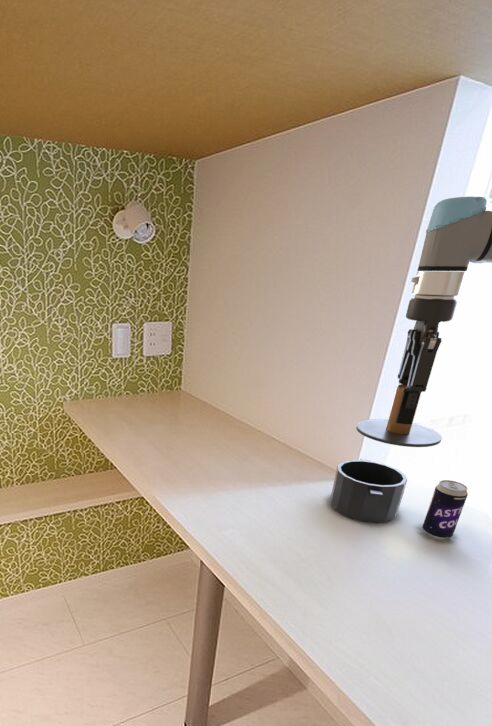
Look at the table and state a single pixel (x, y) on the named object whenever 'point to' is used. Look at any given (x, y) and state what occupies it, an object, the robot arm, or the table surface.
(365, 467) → the tin
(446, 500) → the beverage can
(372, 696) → the table surface
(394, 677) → the table surface
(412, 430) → the tin lid
